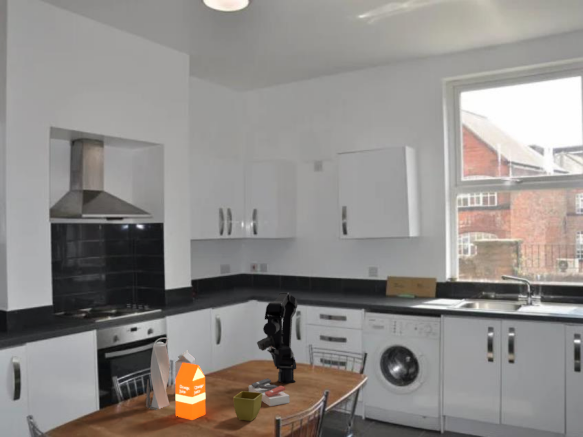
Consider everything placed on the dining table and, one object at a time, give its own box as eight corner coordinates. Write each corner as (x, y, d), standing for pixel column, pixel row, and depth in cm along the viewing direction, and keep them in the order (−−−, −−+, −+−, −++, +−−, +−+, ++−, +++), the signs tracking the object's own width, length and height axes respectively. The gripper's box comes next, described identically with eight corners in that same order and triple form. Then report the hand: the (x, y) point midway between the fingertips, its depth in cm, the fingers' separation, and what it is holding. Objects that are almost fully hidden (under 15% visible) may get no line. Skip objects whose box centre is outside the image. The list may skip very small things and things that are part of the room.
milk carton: (195, 392, 237) (195, 349, 238) (191, 397, 230) (191, 353, 231) (180, 392, 238) (180, 349, 239) (175, 397, 231) (175, 353, 232)
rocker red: (281, 387, 226) (281, 385, 226) (285, 389, 223) (285, 387, 223) (265, 394, 222) (264, 392, 222) (268, 396, 219) (268, 394, 219)
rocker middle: (274, 387, 232) (275, 384, 232) (278, 389, 229) (278, 386, 229) (258, 386, 229) (258, 384, 229) (261, 388, 226) (262, 386, 226)
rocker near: (267, 380, 239) (267, 378, 238) (271, 382, 235) (270, 379, 235) (251, 385, 235) (251, 383, 235) (255, 388, 232) (254, 385, 232)
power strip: (261, 386, 246) (261, 379, 246) (289, 402, 221) (289, 395, 221) (243, 389, 241) (243, 382, 241) (270, 406, 217) (269, 398, 217)
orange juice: (192, 420, 202) (191, 367, 203) (175, 416, 207) (175, 364, 207) (205, 414, 209) (205, 362, 209) (189, 410, 213) (188, 360, 214)
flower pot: (263, 416, 205) (262, 392, 206) (254, 423, 197) (254, 399, 197) (242, 413, 208) (242, 390, 209) (232, 421, 200) (232, 397, 200)
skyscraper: (160, 402, 225) (160, 336, 226) (174, 405, 220) (173, 338, 221) (145, 408, 218) (144, 339, 219) (158, 411, 213) (157, 341, 214)
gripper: (250, 329, 240) (251, 364, 240) (268, 337, 223) (268, 374, 223) (272, 327, 245) (273, 361, 245) (291, 334, 229) (292, 370, 228)
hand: (276, 366), depth 235 cm, fingers closed
